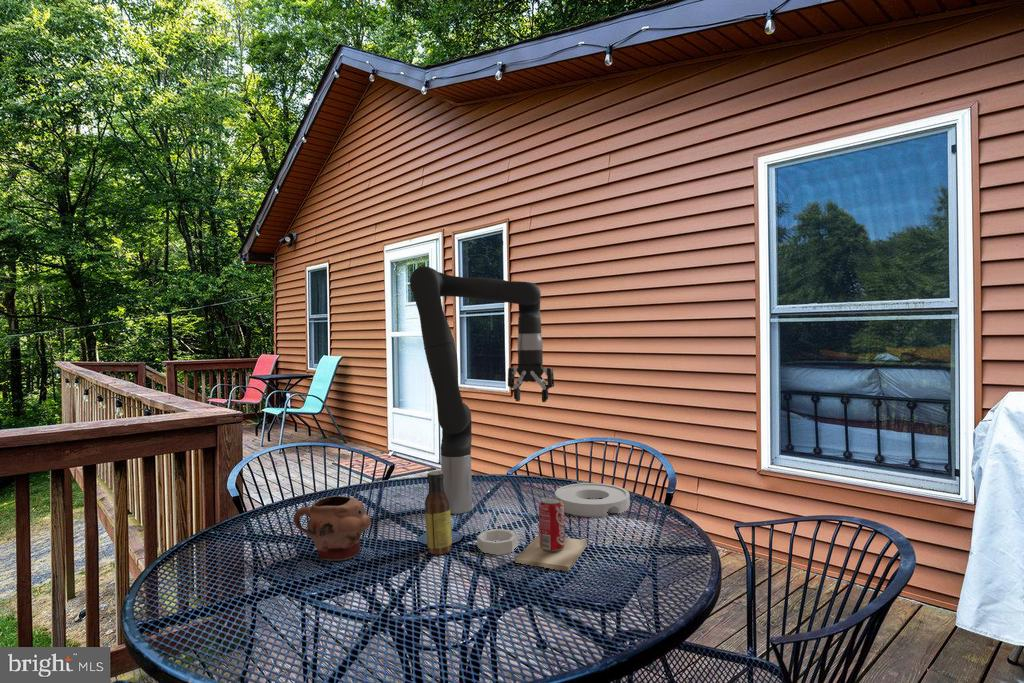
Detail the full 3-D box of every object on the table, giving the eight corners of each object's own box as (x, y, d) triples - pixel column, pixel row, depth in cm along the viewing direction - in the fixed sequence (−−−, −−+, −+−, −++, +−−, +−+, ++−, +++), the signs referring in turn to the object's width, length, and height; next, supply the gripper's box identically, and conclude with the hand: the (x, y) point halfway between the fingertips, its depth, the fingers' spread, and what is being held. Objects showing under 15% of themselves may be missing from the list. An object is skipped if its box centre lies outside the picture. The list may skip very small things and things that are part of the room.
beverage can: (565, 543, 145) (564, 496, 144) (564, 553, 138) (563, 504, 138) (540, 543, 145) (539, 496, 145) (538, 553, 139) (537, 503, 139)
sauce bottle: (456, 547, 147) (454, 470, 146) (445, 557, 141) (443, 476, 140) (433, 545, 149) (431, 468, 148) (421, 554, 143) (419, 474, 142)
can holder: (472, 552, 144) (472, 540, 144) (488, 538, 152) (488, 527, 152) (507, 557, 140) (507, 544, 140) (521, 543, 149) (521, 531, 149)
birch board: (515, 564, 136) (515, 559, 136) (539, 538, 152) (539, 534, 152) (568, 571, 131) (568, 566, 131) (587, 545, 147) (587, 540, 147)
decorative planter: (282, 565, 138) (280, 507, 137) (302, 546, 150) (301, 493, 150) (365, 565, 137) (363, 507, 137) (379, 545, 149) (377, 492, 149)
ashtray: (622, 521, 165) (622, 507, 165) (545, 513, 173) (545, 500, 173) (635, 498, 187) (635, 486, 187) (566, 492, 195) (565, 480, 195)
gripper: (503, 349, 175) (504, 402, 175) (548, 348, 169) (549, 403, 170) (512, 348, 182) (513, 399, 182) (556, 347, 176) (557, 400, 177)
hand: (531, 401), depth 176 cm, fingers open, 8 cm apart
